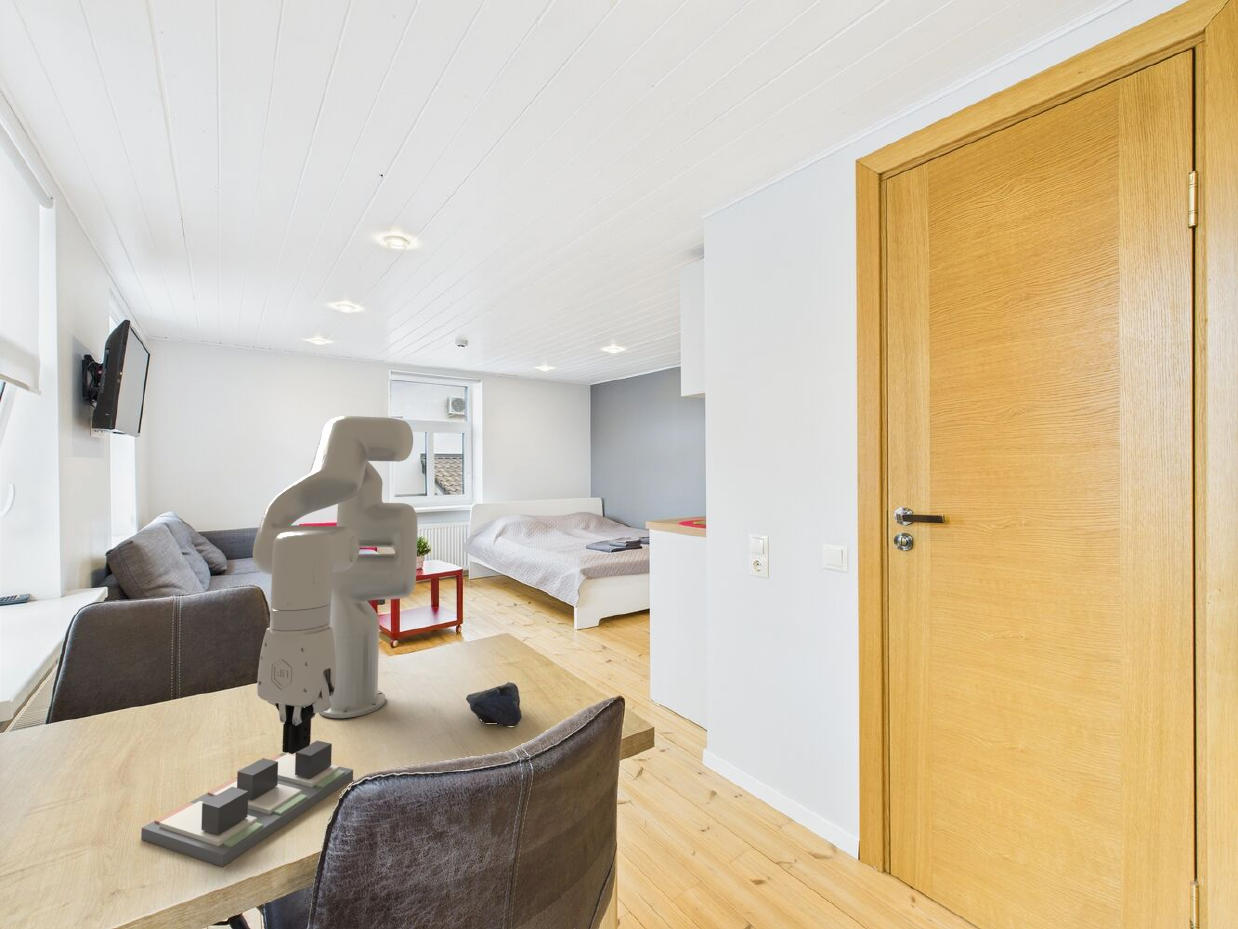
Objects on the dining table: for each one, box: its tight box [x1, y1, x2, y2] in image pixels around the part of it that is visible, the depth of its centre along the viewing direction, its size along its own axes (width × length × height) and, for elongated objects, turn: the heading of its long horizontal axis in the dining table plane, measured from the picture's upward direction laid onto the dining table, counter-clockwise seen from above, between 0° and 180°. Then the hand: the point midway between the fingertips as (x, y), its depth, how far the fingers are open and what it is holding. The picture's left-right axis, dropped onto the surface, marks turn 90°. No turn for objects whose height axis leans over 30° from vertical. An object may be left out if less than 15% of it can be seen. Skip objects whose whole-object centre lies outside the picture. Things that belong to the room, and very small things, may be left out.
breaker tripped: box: [236, 757, 278, 800], centre depth 81 cm, size 3×4×4 cm
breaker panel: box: [140, 752, 354, 868], centre depth 81 cm, size 15×21×2 cm
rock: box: [465, 681, 523, 727], centre depth 111 cm, size 16×8×10 cm
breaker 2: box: [294, 740, 333, 779], centre depth 87 cm, size 3×4×4 cm
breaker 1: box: [201, 787, 248, 835], centre depth 74 cm, size 3×4×4 cm
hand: (296, 748), depth 78 cm, fingers closed
